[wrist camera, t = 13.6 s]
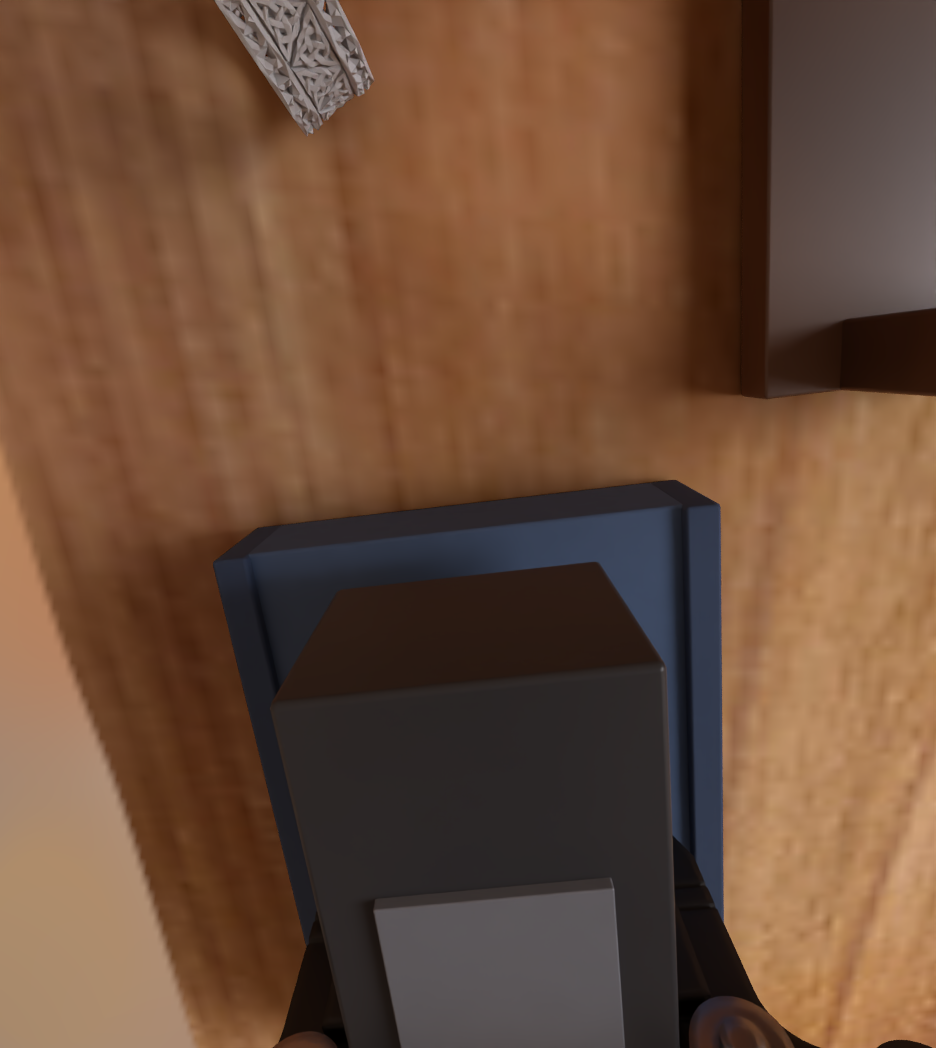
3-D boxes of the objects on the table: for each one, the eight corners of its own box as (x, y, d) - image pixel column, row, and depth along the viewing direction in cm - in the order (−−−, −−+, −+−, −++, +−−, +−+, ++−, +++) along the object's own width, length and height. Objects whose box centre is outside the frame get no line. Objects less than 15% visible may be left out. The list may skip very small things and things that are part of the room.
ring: (214, -8, 10) (107, -162, 7) (277, -64, 9) (194, -245, 7) (325, 162, 10) (269, 87, 8) (386, 114, 10) (353, 17, 7)
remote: (335, 588, 9) (259, 713, 6) (599, 558, 9) (673, 670, 6) (445, 1167, 12) (436, 1454, 9) (638, 1153, 12) (698, 1439, 9)
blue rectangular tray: (256, 527, 12) (210, 561, 10) (677, 478, 12) (722, 503, 10) (364, 1018, 16) (347, 1121, 14) (691, 990, 15) (726, 1091, 13)
